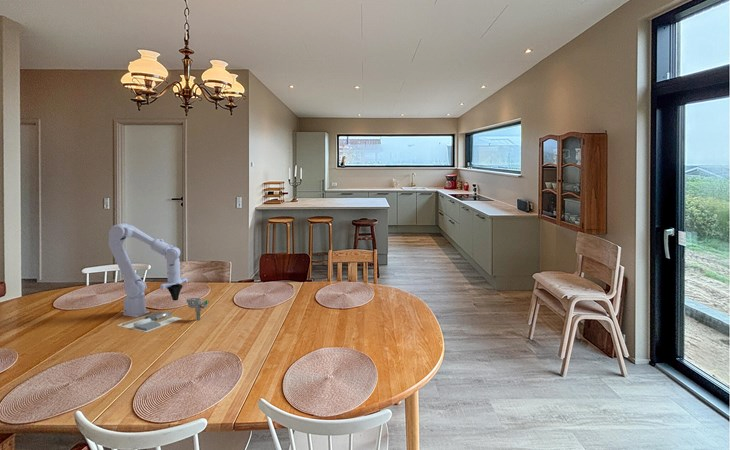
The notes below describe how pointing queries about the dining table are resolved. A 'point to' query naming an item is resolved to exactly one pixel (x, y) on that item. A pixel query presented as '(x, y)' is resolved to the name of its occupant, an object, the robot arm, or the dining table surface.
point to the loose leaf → (159, 315)
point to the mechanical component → (197, 305)
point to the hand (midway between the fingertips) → (175, 300)
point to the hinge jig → (148, 323)
